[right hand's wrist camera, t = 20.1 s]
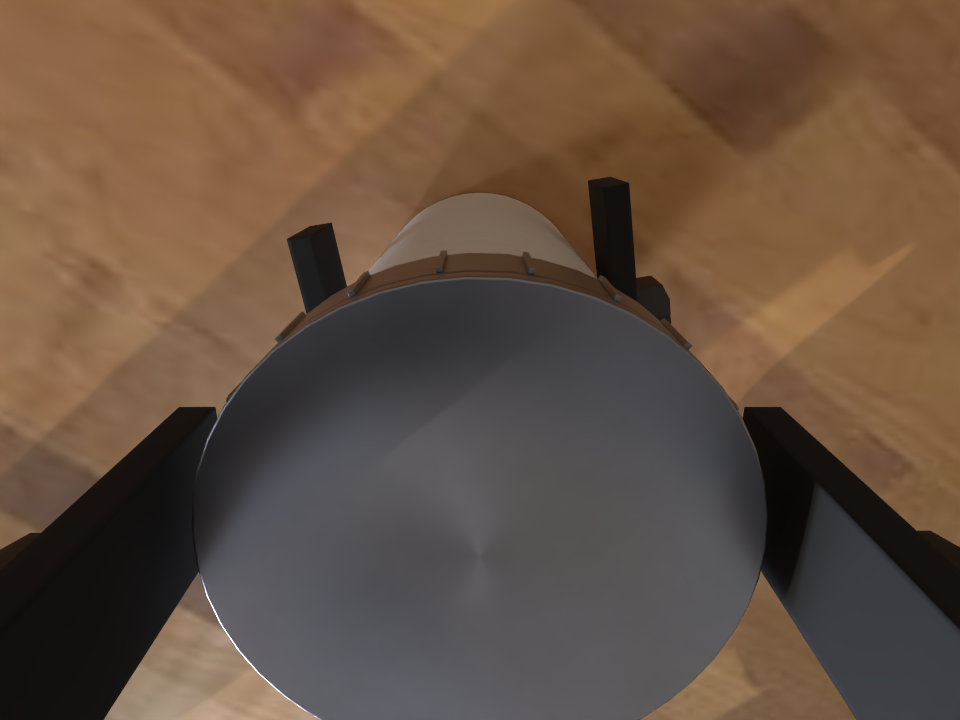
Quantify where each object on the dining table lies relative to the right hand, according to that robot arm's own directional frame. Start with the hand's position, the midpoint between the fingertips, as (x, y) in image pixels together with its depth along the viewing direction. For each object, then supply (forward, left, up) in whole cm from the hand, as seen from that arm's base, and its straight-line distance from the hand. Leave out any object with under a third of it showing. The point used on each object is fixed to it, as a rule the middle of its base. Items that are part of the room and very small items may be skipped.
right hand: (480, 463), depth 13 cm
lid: (0, 0, +3) cm, 3 cm away
